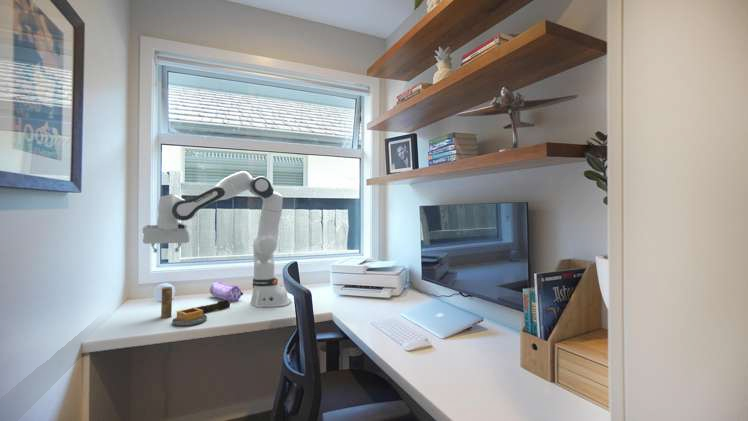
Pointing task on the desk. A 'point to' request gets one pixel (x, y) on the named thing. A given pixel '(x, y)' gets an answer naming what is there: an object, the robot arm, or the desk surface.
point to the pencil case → (225, 291)
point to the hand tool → (215, 306)
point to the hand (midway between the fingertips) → (166, 252)
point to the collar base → (189, 317)
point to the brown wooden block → (166, 302)
